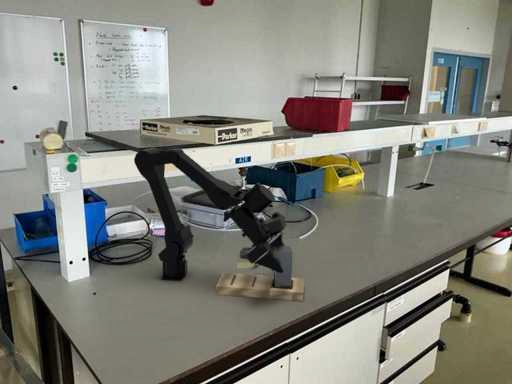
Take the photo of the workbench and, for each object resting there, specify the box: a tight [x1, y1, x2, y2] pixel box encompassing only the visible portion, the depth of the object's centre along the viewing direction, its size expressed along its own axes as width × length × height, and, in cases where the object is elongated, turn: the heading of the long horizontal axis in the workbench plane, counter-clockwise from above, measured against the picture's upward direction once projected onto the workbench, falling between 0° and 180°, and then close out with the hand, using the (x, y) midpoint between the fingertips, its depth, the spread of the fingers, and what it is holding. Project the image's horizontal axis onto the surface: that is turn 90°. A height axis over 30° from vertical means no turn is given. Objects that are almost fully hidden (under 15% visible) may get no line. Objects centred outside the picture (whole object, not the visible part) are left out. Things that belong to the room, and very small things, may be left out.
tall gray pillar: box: [272, 245, 293, 289], centre depth 119 cm, size 4×4×13 cm
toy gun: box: [236, 246, 274, 272], centre depth 141 cm, size 18×5×15 cm
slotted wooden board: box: [215, 272, 305, 302], centre depth 121 cm, size 24×9×3 cm, turn 83°
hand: (285, 265), depth 118 cm, fingers open, 9 cm apart
